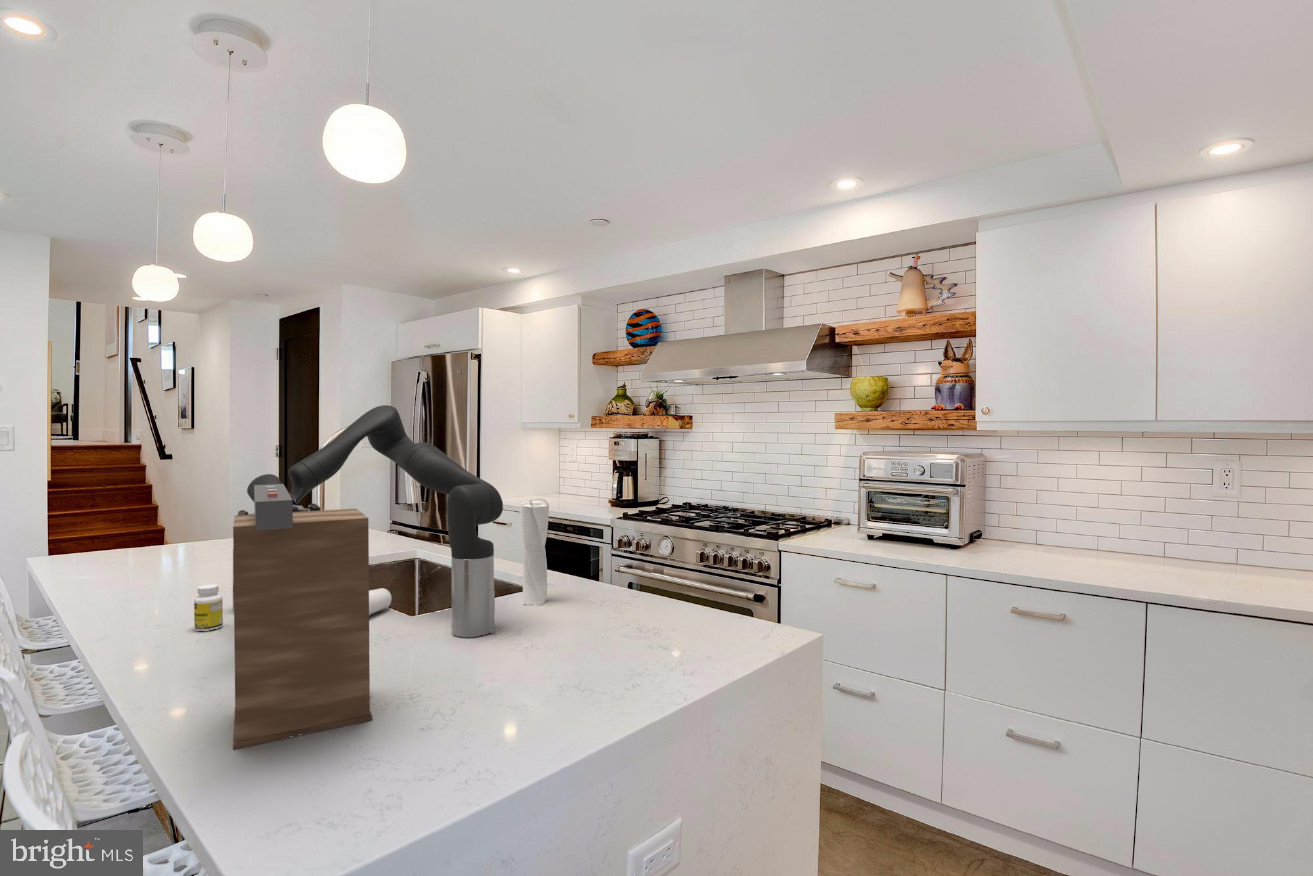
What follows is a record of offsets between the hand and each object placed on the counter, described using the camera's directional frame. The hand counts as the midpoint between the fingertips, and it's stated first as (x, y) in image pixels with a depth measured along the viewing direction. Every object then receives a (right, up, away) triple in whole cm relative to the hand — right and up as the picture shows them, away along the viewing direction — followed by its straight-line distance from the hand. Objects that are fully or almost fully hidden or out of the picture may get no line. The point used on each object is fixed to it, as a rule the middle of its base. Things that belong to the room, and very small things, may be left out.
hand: (282, 522), depth 128 cm
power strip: (+10, +3, -21) cm, 23 cm away
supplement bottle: (-31, -28, +26) cm, 49 cm away
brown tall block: (+14, -29, -20) cm, 38 cm away
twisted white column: (+39, -27, +49) cm, 68 cm away
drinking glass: (+2, -25, +43) cm, 49 cm away
